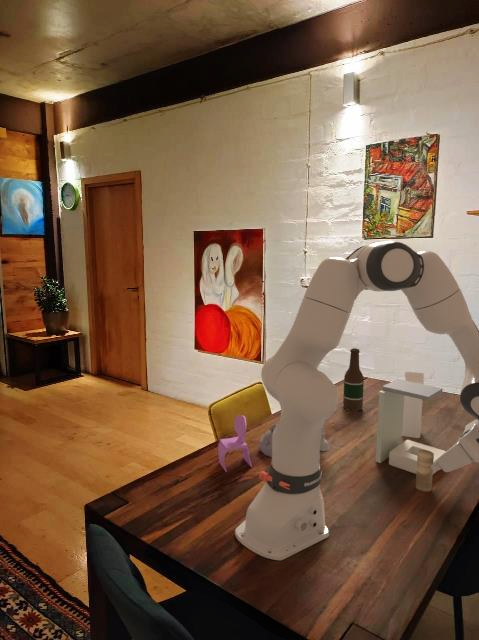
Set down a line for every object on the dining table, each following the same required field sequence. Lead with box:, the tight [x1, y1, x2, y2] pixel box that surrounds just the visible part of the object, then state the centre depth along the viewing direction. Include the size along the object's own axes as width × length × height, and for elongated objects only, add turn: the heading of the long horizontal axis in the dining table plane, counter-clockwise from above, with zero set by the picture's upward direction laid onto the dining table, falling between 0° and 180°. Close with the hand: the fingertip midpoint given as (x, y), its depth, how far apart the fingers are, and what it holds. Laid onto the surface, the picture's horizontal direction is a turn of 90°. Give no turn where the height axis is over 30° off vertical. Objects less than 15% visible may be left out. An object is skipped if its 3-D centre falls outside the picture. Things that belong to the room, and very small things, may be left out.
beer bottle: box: [342, 348, 365, 412], centre depth 184 cm, size 8×8×24 cm
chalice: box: [320, 417, 331, 452], centre depth 149 cm, size 7×7×18 cm
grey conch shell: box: [259, 423, 279, 458], centre depth 147 cm, size 12×12×11 cm
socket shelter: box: [375, 378, 447, 475], centre depth 139 cm, size 14×16×23 cm
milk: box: [402, 371, 425, 439], centre depth 159 cm, size 6×6×22 cm
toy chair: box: [217, 414, 253, 473], centre depth 138 cm, size 8×9×15 cm
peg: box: [415, 450, 434, 493], centre depth 125 cm, size 4×4×10 cm
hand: (440, 462), depth 122 cm, fingers open, 8 cm apart
